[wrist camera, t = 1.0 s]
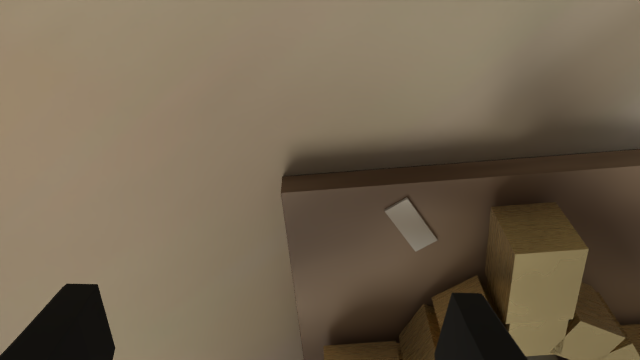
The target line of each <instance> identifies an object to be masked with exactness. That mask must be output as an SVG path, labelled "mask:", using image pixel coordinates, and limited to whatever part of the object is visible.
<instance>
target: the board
mask: <svg viewBox="0 0 640 360" xmlns="http://www.w3.org/2000/svg"><path fill="white" fill-rule="evenodd" d="M281 196H282V204H283V211H284V218H285V225H286V233H287V240H288V247H289V254H290V262H291V269H292V276H293V284H294V291H295V298H296V305H297V313H298V320H299V327H300V334H301V342H302V349H303V356H304V360H324V346H328V345H342V344H357V343H371V342H386V341H396V343H400V341H399V335H400V334H401V332H402V331H403V330H404V328H405V327H406V326H407V324H408V323H409V322H410V321H411V319H412V318H413V317H414V315H415V314H416V313H417V312H418V310H419V309H420V308H421V306H422V305H423V304H426V305H428V306H431V307H434V305H433V302H432V298H431V297H433V296H435V295H437V294H440V293H442V292H444V291H446V290H448V289H450V288H452V287H454V286H456V285H458V284H460V283H462V282H464V281H466V280H468V279H470V278H472V277H474V276H476V275H477V276H478V277H479V279H480V280H481V281H482V283H483V284H484V286H485V287H486V288H487V277H486V275H485V273H484V272H485V262H486V252H487V242H488V232H489V222H490V212H491V207H497V206H510V205H524V204H537V203H550V202H556V203H557V205H558V206H559V207H560V209H561V210H562V212H563V213H564V215H565V216H566V217H567V219H568V220H569V222H570V223H571V225H572V226H573V227H574V229H575V230H576V232H577V233H578V235H579V236H580V237H581V239H582V240H583V242H584V243H585V245H586V246H587V247H588V249H589V250H588V255H587V259H586V263H585V268H584V272H583V277H582V281H581V282H583V283H585V284H588V285H590V286H592V287H593V289H594V290H595V292H599V293H600V295H601V296H602V298H603V299H604V301H605V302H606V304H607V305H608V307H609V308H610V310H611V312H612V313H613V315H614V316H615V318H616V319H617V321H618V322H619V324H620V325H634V324H640V149H637V150H624V151H611V152H598V153H585V154H572V155H559V156H546V157H533V158H520V159H507V160H494V161H481V162H467V163H454V164H441V165H428V166H415V167H402V168H389V169H376V170H363V171H350V172H337V173H324V174H311V175H298V176H285V177H282V187H281ZM526 357H527V359H528V360H568V359H566V358H563V357H561V356H558V355H555V354H553V355H538V356H526Z"/></svg>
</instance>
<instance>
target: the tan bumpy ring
mask: <svg viewBox="0 0 640 360" xmlns="http://www.w3.org/2000/svg"><path fill="white" fill-rule="evenodd" d="M588 250H589V249H588V247H587V246H586V245H585V243H584V242H583V240H582V239H581V237H580V236H579V235H578V233H577V232H576V230H575V229H574V227H573V226H572V225H571V223H570V222H569V220H568V219H567V217H566V216H565V215H564V213H563V212H562V210H561V209H560V207H559V206H558V205H557V203H556V202H550V203H537V204H524V205H510V206H497V207H491V212H490V222H489V232H488V242H487V252H486V262H485V272H484V273H485V275H486V277H487V288H486V287H485V286H484V284H483V283H482V281H481V280H480V279H479V277H478V276H477V275H476V276H474V277H472V278H470V279H468V280H466V281H464V282H462V283H460V284H458V285H456V286H454V287H452V288H450V289H448V290H446V291H444V292H442V293H440V294H437V295H435V296H433V297H431V298H432V302H433V305H434V307H431V306H428V305H426V304H423V305H422V306H421V308H420V309H419V310H418V312H417V313H416V314H415V315H414V317H413V318H412V319H411V321H410V322H409V323H408V324H407V326H406V327H405V328H404V330H403V331H402V332H401V334H400V335H399V341H400V343H396V341H386V342H371V343H357V344H342V345H328V346H324V360H435V355H434V353H435V350H436V346H437V343H438V339H439V336H440V332H441V329H442V325H443V322H444V318H445V315H446V311H447V308H448V304H449V301H450V297H451V294H452V293H481V294H482V295H483V296H484V297H485V298H486V300H487V301H488V303H489V304H490V306H491V307H492V309H493V310H494V312H495V313H496V315H497V316H498V318H499V319H500V321H501V322H502V323H503V325H504V326H505V328H506V329H507V331H508V332H509V334H510V335H511V336H512V338H513V339H514V341H515V342H516V343H517V345H518V346H519V348H520V349H521V350H522V352H523V353H524V355H525V356H538V355H553V354H555V355H558V356H561V357H563V358H566V359H568V360H640V324H634V325H620V324H619V322H618V321H617V319H616V318H615V316H614V315H613V313H612V312H611V310H610V308H609V307H608V305H607V304H606V302H605V301H604V299H603V298H602V296H601V295H600V293H599V292H595V290H594V289H593V287H592V286H590V285H588V284H585V283H583V282H581V281H582V277H583V272H584V268H585V263H586V259H587V255H588Z"/></svg>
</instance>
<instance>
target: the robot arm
mask: <svg viewBox="0 0 640 360" xmlns="http://www.w3.org/2000/svg"><path fill="white" fill-rule="evenodd" d="M114 351H115V346H114V342H113V338H112V335H111V331H110V328H109V324H108V320H107V317H106V313H105V309H104V306H103V302H102V299H101V295H100V291H99V288H98V284H66V285H65V286H64V287H62V289H61V290H60V291H59V292H58V293H57V294H56V295H55V296H54V297H53V298H52V300H51V301H50V302H49V303H48V304H47V305H46V306H45V307H44V309H43V310H42V311H41V312H40V313H39V314H38V315H37V316H36V317H35V319H34V320H33V321H32V322H31V323H30V324H29V325H28V326H27V327H26V328H25V330H24V331H23V332H22V333H21V334H20V335H19V336H18V337H17V338H16V339H15V340H14V342H13V343H12V344H11V345H10V346H9V347H8V348H7V349H6V350H5V351H4V352H3V353H2V354H1V355H0V360H113V355H114ZM434 355H435V360H528V359H527V357H526V356H525V355H524V353H523V352H522V350H521V349H520V348H519V346H518V345H517V343H516V342H515V341H514V339H513V338H512V336H511V335H510V334H509V332H508V331H507V329H506V328H505V326H504V325H503V323H502V322H501V321H500V319H499V318H498V316H497V315H496V313H495V312H494V310H493V309H492V307H491V306H490V304H489V303H488V301H487V300H486V298H485V297H484V296H483V295H482V294H481V293H452V294H451V297H450V301H449V304H448V308H447V311H446V315H445V318H444V322H443V325H442V329H441V332H440V336H439V339H438V343H437V346H436V350H435V353H434Z"/></svg>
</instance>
